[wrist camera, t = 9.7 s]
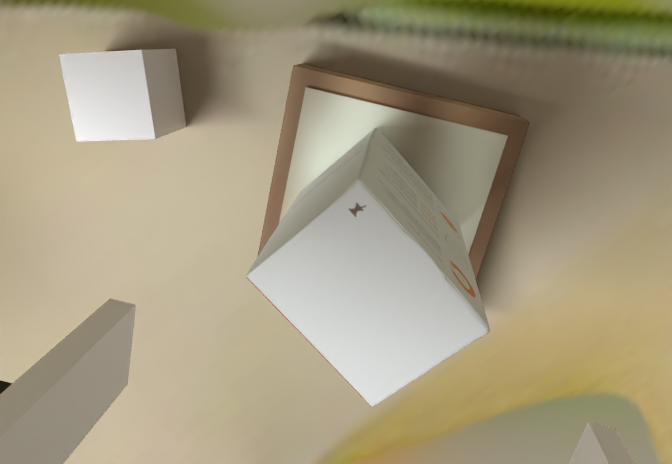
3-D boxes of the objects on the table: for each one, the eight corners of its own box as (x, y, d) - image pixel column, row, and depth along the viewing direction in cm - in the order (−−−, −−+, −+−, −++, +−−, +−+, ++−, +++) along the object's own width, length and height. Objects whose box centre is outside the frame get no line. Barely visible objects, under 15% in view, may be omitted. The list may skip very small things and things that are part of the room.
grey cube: (117, 129, 38) (76, 141, 33) (103, 52, 36) (58, 54, 31) (186, 126, 37) (155, 138, 32) (176, 48, 35) (141, 49, 31)
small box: (298, 191, 34) (239, 275, 22) (376, 124, 32) (359, 173, 20) (382, 285, 35) (371, 412, 23) (462, 225, 34) (496, 330, 21)
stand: (264, 261, 39) (252, 280, 36) (302, 63, 35) (292, 65, 32) (454, 310, 39) (458, 333, 36) (519, 115, 34) (531, 123, 31)
